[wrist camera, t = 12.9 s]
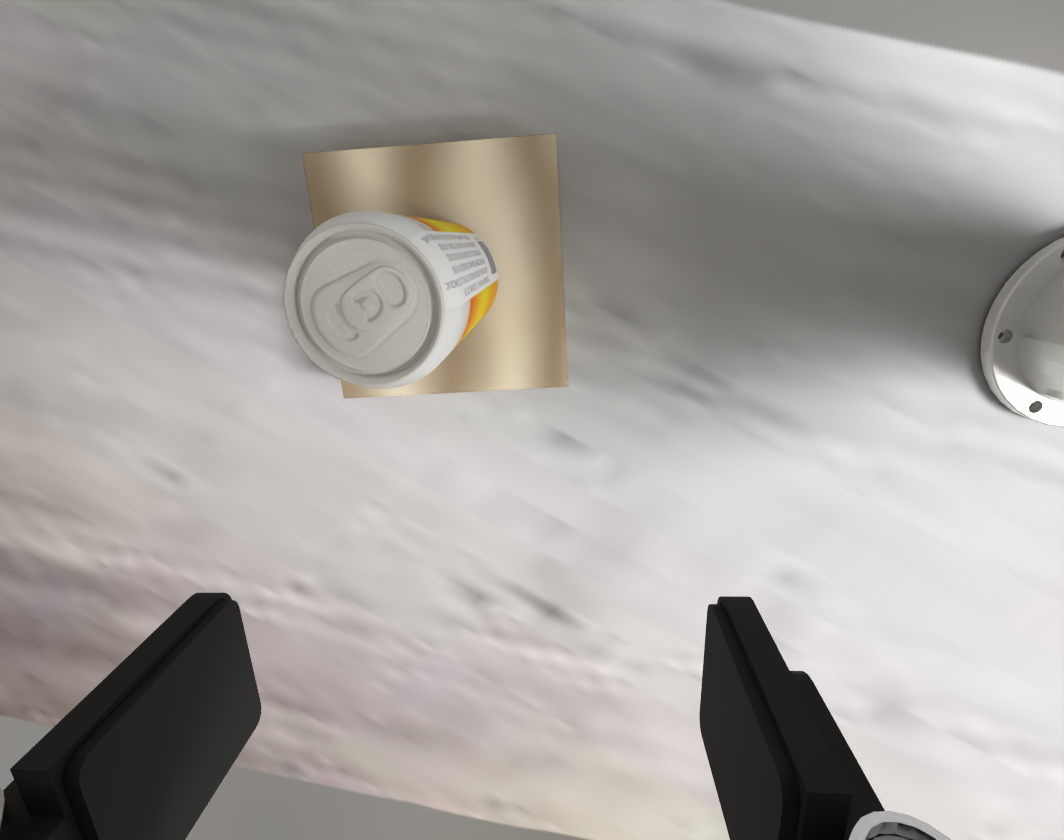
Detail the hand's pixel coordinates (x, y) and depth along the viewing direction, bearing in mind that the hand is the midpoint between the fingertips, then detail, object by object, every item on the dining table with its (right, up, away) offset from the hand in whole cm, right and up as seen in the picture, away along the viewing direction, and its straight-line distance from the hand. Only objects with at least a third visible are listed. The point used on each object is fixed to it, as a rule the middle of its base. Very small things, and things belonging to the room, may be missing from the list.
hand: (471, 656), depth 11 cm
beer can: (-4, +13, +22) cm, 26 cm away
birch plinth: (-4, +14, +25) cm, 29 cm away
